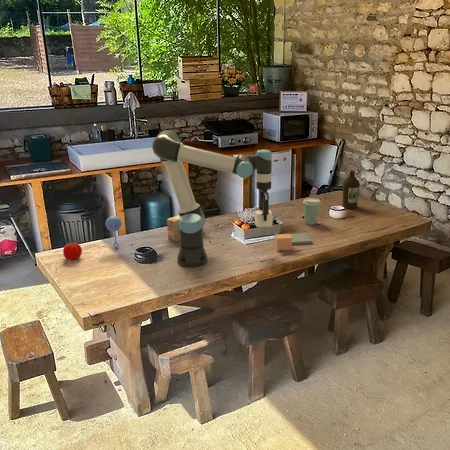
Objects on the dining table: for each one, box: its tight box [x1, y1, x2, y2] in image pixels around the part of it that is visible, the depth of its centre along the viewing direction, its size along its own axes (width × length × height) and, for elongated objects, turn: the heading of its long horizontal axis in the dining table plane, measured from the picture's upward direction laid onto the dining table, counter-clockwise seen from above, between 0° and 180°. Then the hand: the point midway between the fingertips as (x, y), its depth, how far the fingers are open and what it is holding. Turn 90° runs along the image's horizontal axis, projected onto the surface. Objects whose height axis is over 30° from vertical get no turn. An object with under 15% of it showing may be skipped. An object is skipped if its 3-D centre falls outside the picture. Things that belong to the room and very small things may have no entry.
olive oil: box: [342, 169, 361, 210], centre depth 324 cm, size 11×11×25 cm
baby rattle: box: [105, 215, 123, 249], centre depth 266 cm, size 9×9×18 cm
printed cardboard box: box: [166, 214, 180, 242], centre depth 283 cm, size 21×6×12 cm, turn 134°
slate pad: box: [289, 232, 313, 246], centre depth 274 cm, size 12×12×2 cm
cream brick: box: [254, 209, 273, 228], centre depth 256 cm, size 8×6×7 cm
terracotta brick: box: [274, 233, 293, 252], centre depth 263 cm, size 8×6×7 cm
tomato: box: [62, 242, 83, 261], centre depth 255 cm, size 9×10×8 cm
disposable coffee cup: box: [302, 197, 322, 225], centre depth 298 cm, size 11×11×15 cm
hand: (263, 224), depth 257 cm, fingers closed on cream brick, 6 cm apart
